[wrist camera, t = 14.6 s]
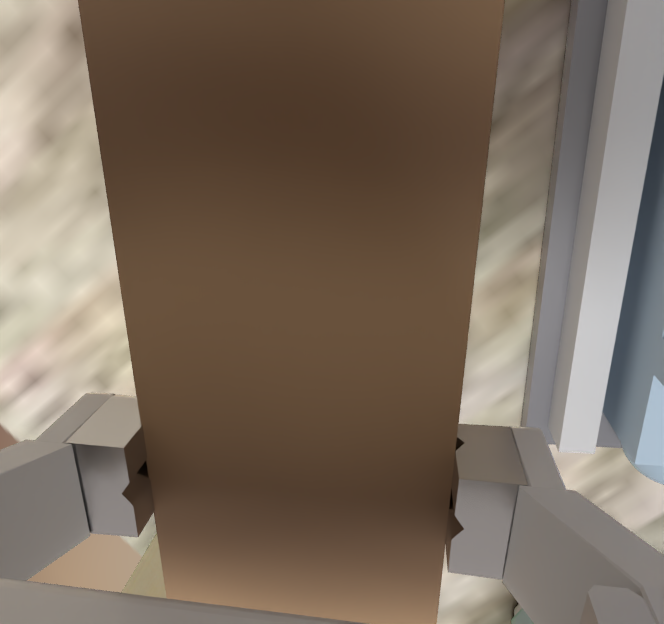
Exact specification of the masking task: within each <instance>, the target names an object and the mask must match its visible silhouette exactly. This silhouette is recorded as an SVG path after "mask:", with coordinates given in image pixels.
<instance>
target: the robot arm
mask: <svg viewBox="0 0 664 624" xmlns="http://www.w3.org/2000/svg"><path fill="white" fill-rule="evenodd" d="M146 459H147V451H146V445H145V438H144V431H143V425H141V422H140V415H139V409H138V402H137V396H127V395H115V394H108V393H86V394H85V395H84V396H82V397H81V398H80V399H79V400H78V401H77V402H76V403H75V404H74V405H73V406H72V407H70V408H69V409H68V410H67V411H66V412H65V413H64V414H63V415H62V416H61V417H60V418H59V419H57V420H56V421H55V422H54V423H53V424H52V425H51V426H50V427H49V428H48V429H47V430H45V431H44V432H43V433H42V434H41V435H40V436H39V437H38V438H37V439H36V440H24V441H22V442H19V443H17V444H14V445H12V446H9V447H6V448H4V449H2V450H0V624H368V623H360V622H352V621H344V620H336V619H328V618H320V617H313V616H305V615H297V614H289V613H281V612H272V611H264V610H256V609H248V608H240V607H232V606H224V605H216V604H208V603H200V602H192V601H184V600H176V599H167V598H159V597H151V596H143V595H135V594H127V593H119V592H110V591H103V590H95V589H87V588H78V587H71V586H63V585H55V584H47V583H39V582H31V581H27V580H28V579H29V578H31V577H32V576H34V575H35V574H37V573H38V572H39V571H41V570H42V569H44V568H45V567H47V566H48V565H49V564H51V563H52V562H54V561H55V560H57V559H58V558H59V557H61V556H62V555H64V554H65V553H67V552H68V551H69V550H70V549H72V548H74V547H75V546H77V545H78V544H79V543H81V542H82V541H84V540H85V539H86V538H88V537H89V536H90V533H94V534H107V535H118V536H130V537H139V535H140V533H141V532H142V530H143V528H144V527H145V525H146V524H147V522H148V520H149V519H150V517H151V515H152V514H153V512H154V511H155V509H154V502H153V494H152V487H151V480H150V479H149V476H148V469H147V463H146ZM445 544H446V555H447V566H448V572H451V573H458V574H465V575H472V576H479V577H486V578H494V579H501V580H503V584H504V585H505V586H506V588H507V589H508V590H509V591H510V593H511V594H512V595H513V597H514V598H515V599H516V601H517V602H518V603H519V604H520V606H521V607H522V608H523V610H524V611H525V612H526V614H527V615H528V616H529V617H530V619H531V620H532V621H533V623H534V624H664V555H662V554H661V553H660V552H658V551H657V550H656V549H654V548H653V547H651V546H650V545H649V544H647V543H646V542H645V541H643V540H642V539H641V538H639V537H638V536H637V535H635V534H634V533H632V532H631V531H630V530H628V529H627V528H626V527H624V526H623V525H622V524H620V523H619V522H617V521H616V520H615V519H613V518H612V517H611V516H609V515H608V514H607V513H605V512H604V511H602V510H601V509H600V508H598V507H597V506H596V505H594V504H593V503H592V502H590V501H589V500H587V499H586V498H585V497H583V496H582V495H581V494H579V493H578V492H577V491H573V490H566V488H565V485H564V483H563V480H562V478H561V476H560V473H559V471H558V468H557V466H556V463H555V461H554V458H553V456H552V453H551V451H550V448H549V446H548V444H547V441H546V439H545V436H544V434H543V431H542V430H541V429H539V428H531V427H505V426H487V425H470V424H458V432H457V441H456V450H455V459H454V468H453V477H452V485H451V496H450V505H449V511H448V520H447V529H446V539H445Z"/></svg>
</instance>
